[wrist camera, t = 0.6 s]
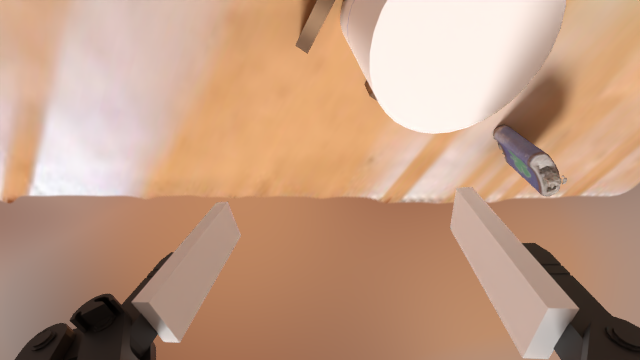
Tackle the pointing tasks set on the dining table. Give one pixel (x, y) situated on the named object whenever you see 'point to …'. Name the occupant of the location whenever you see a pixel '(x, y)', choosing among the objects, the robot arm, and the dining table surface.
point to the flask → (529, 161)
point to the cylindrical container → (449, 55)
